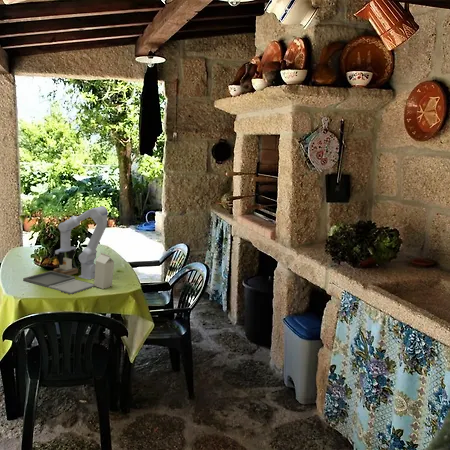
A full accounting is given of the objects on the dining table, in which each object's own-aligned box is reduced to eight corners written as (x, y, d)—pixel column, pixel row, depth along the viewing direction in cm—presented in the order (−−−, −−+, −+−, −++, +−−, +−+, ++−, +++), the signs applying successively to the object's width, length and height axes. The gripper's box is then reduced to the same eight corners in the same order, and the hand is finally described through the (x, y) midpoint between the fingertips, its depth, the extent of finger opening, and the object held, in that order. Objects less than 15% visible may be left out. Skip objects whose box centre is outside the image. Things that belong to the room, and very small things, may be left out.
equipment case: (97, 285, 286) (97, 282, 285) (70, 294, 269) (70, 291, 268) (51, 274, 304) (51, 270, 304) (23, 281, 287) (23, 278, 286)
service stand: (77, 273, 308) (77, 268, 307) (65, 277, 299) (65, 271, 299) (66, 270, 313) (66, 265, 312) (53, 274, 304) (53, 268, 304)
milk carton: (102, 289, 280) (105, 256, 276) (93, 285, 284) (96, 253, 279) (112, 286, 286) (114, 254, 282) (103, 282, 290) (105, 251, 285)
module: (71, 268, 306) (71, 259, 305) (66, 270, 302) (66, 260, 301) (64, 266, 309) (64, 257, 308) (59, 268, 305) (59, 258, 304)
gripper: (69, 238, 311) (70, 260, 313) (51, 242, 298) (51, 264, 301) (78, 240, 307) (78, 262, 310) (59, 244, 295) (59, 266, 297)
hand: (65, 263), depth 305 cm, fingers open, 7 cm apart
